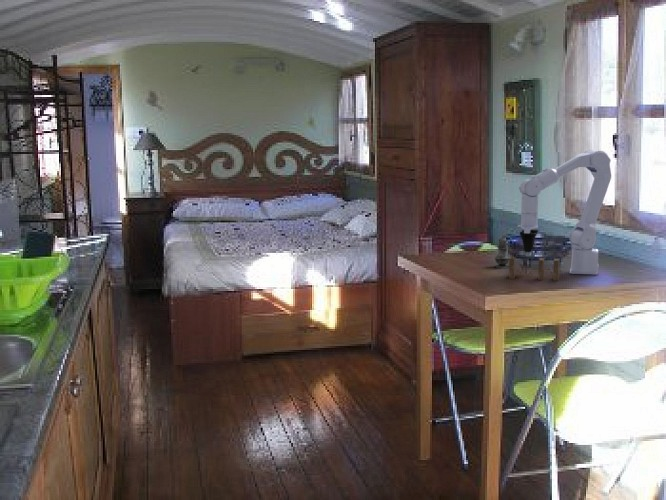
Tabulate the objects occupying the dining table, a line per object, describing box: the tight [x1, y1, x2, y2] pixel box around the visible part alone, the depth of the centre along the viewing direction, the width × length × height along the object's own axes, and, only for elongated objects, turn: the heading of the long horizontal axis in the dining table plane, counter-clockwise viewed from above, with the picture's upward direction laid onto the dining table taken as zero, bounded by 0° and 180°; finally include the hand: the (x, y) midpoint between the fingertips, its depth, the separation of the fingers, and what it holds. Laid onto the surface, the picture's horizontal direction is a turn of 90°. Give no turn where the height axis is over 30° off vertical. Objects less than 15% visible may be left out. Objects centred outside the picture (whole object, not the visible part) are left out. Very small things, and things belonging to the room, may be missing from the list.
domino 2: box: [525, 251, 532, 257], centre depth 276 cm, size 2×4×7 cm, turn 160°
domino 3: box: [537, 257, 545, 281], centre depth 269 cm, size 2×4×7 cm, turn 161°
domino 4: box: [552, 258, 560, 282], centre depth 267 cm, size 2×4×7 cm, turn 161°
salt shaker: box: [494, 235, 511, 269], centre depth 292 cm, size 6×6×12 cm
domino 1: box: [508, 256, 516, 280], centre depth 272 cm, size 2×4×7 cm, turn 161°
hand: (528, 250), depth 276 cm, fingers closed on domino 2, 4 cm apart
